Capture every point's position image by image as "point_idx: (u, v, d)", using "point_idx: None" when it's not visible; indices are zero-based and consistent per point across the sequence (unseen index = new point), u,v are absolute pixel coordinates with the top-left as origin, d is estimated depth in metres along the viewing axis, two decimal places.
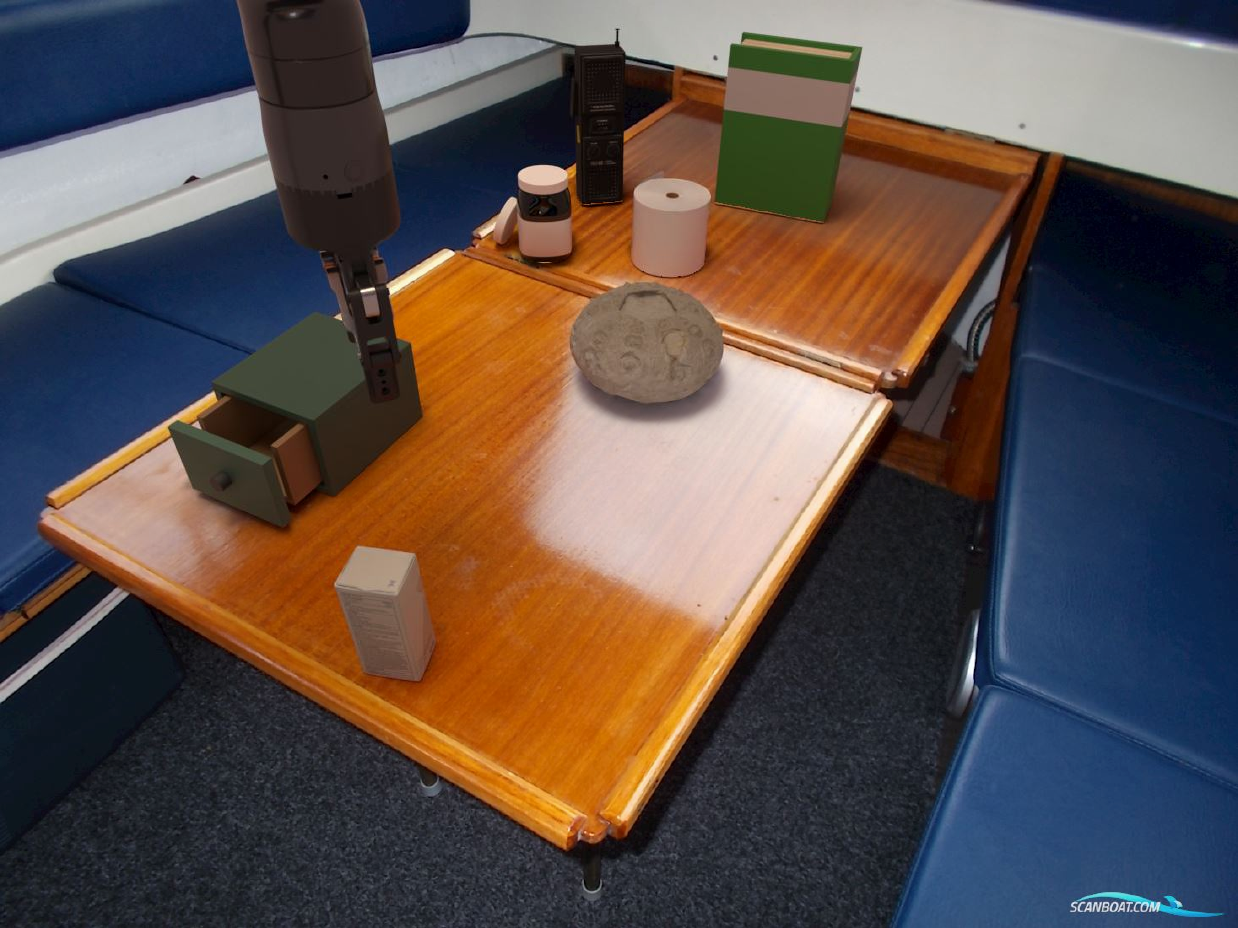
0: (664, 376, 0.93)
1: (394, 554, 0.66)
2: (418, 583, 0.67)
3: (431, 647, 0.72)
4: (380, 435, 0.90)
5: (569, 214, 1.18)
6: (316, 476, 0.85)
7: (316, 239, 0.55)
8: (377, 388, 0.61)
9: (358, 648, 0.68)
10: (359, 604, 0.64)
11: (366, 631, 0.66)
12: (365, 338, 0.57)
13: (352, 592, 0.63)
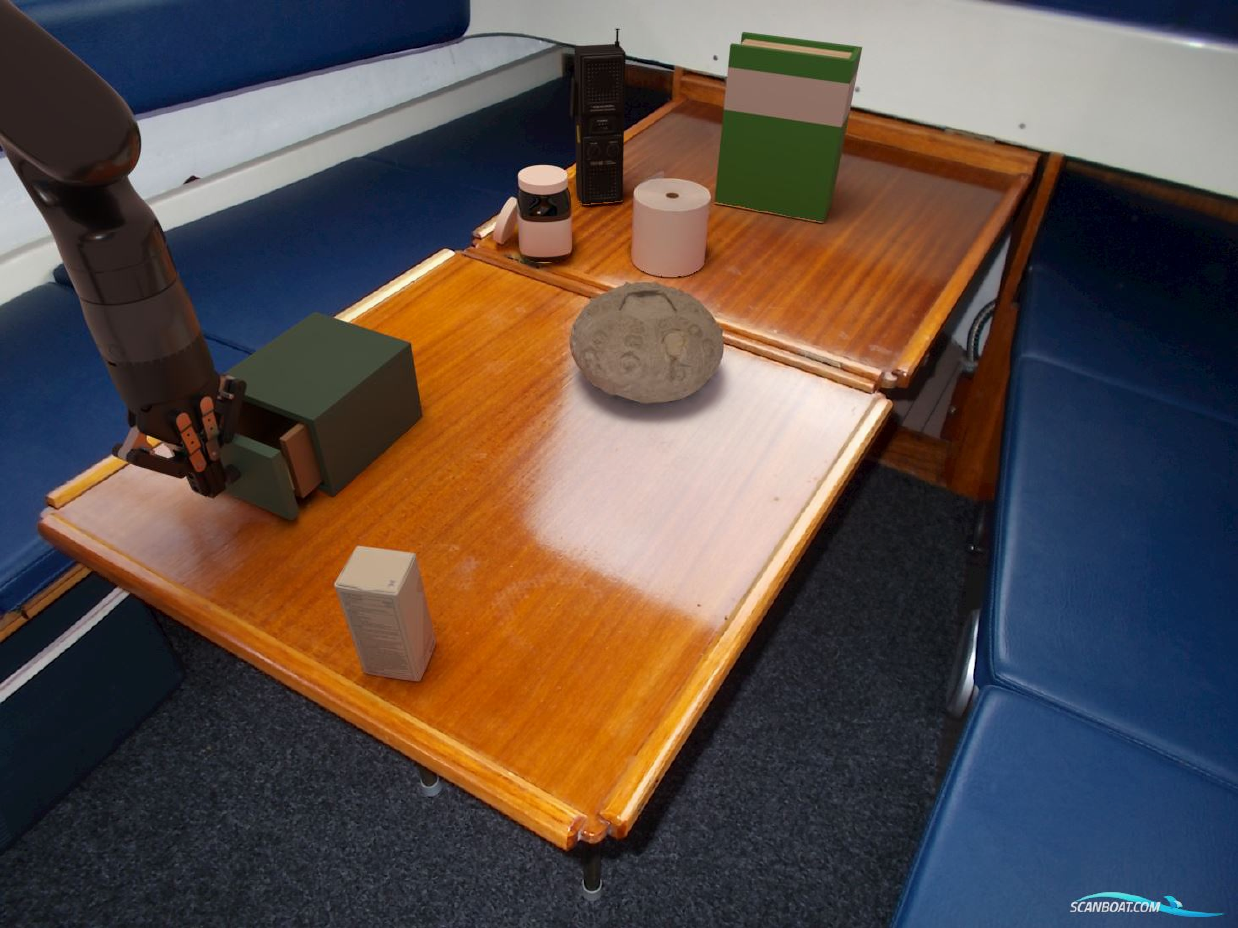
0: (664, 376, 0.93)
1: (394, 554, 0.66)
2: (418, 583, 0.67)
3: (431, 647, 0.72)
4: (380, 435, 0.90)
5: (569, 214, 1.18)
6: None
7: None
8: (190, 484, 0.77)
9: (358, 648, 0.68)
10: (359, 604, 0.64)
11: (366, 631, 0.66)
12: None
13: (352, 592, 0.63)
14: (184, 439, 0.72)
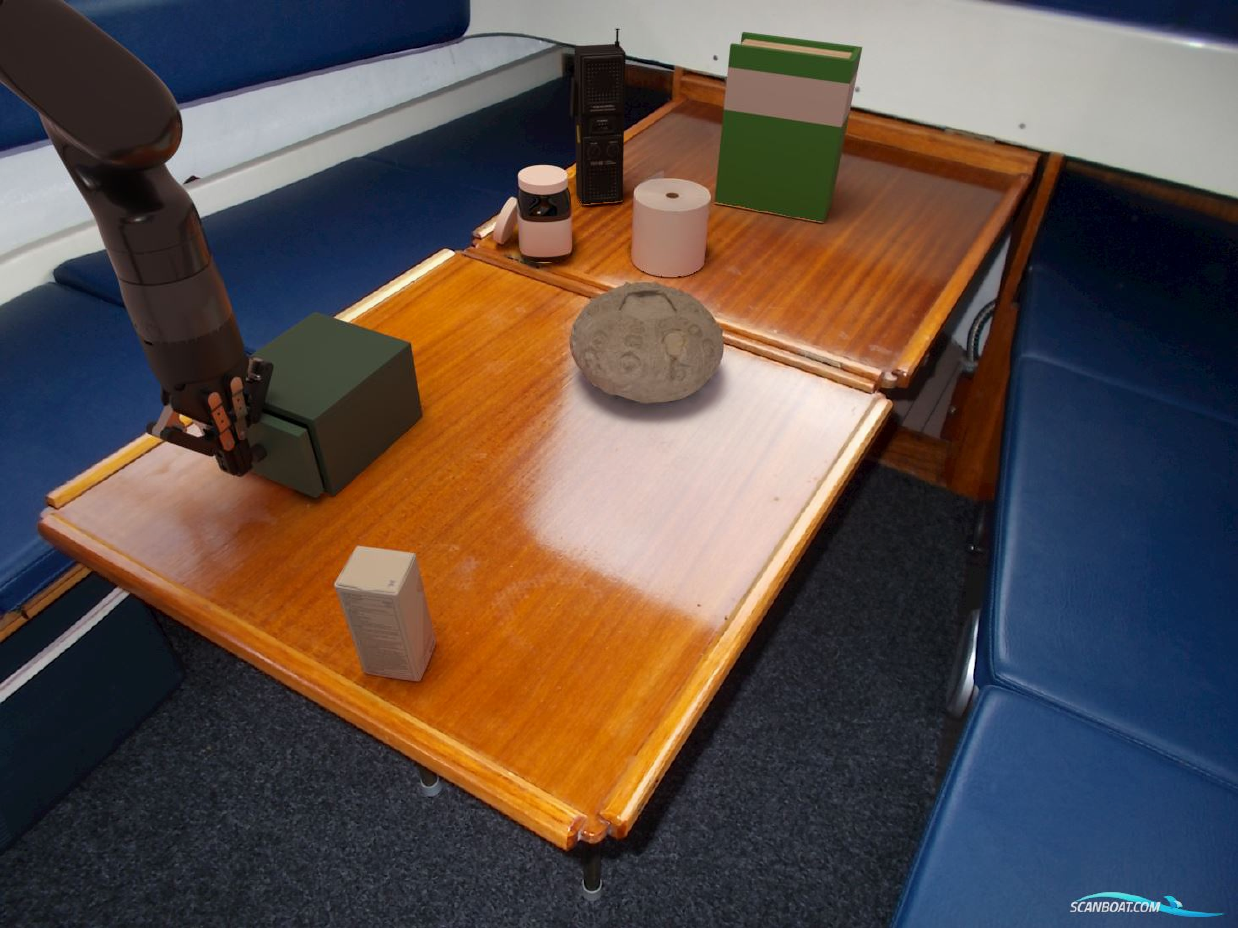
0: (664, 376, 0.93)
1: (394, 554, 0.66)
2: (418, 583, 0.67)
3: (431, 647, 0.72)
4: (380, 435, 0.90)
5: (569, 214, 1.18)
6: None
7: None
8: (219, 463, 0.80)
9: (358, 648, 0.68)
10: (359, 604, 0.64)
11: (366, 631, 0.66)
12: None
13: (352, 592, 0.63)
14: (215, 418, 0.75)
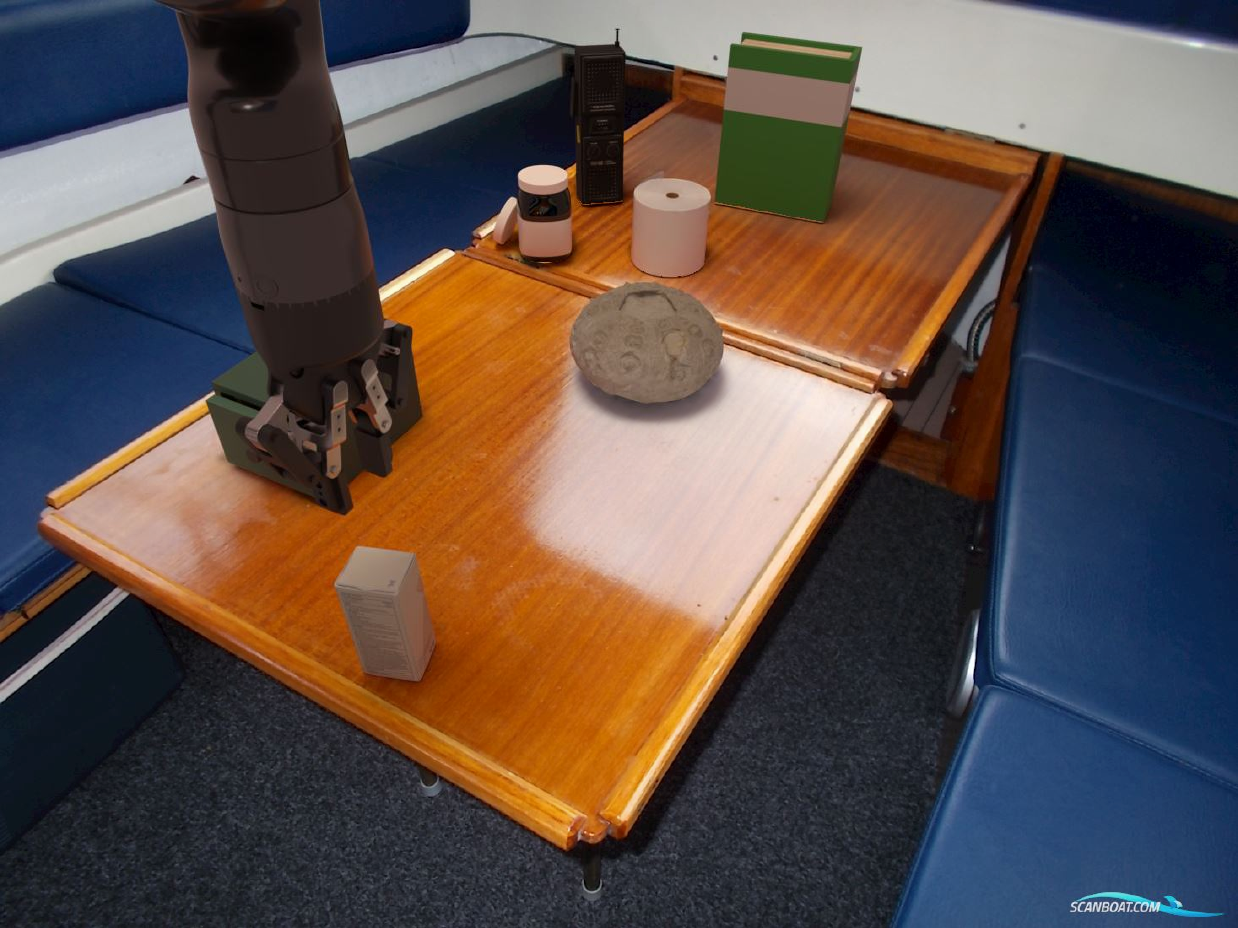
0: (664, 376, 0.93)
1: (394, 554, 0.66)
2: (418, 583, 0.67)
3: (431, 647, 0.72)
4: None
5: (569, 214, 1.18)
6: None
7: (250, 334, 0.49)
8: (316, 496, 0.56)
9: (358, 648, 0.68)
10: (359, 604, 0.64)
11: (366, 631, 0.66)
12: (265, 460, 0.51)
13: (352, 592, 0.63)
14: (332, 421, 0.52)
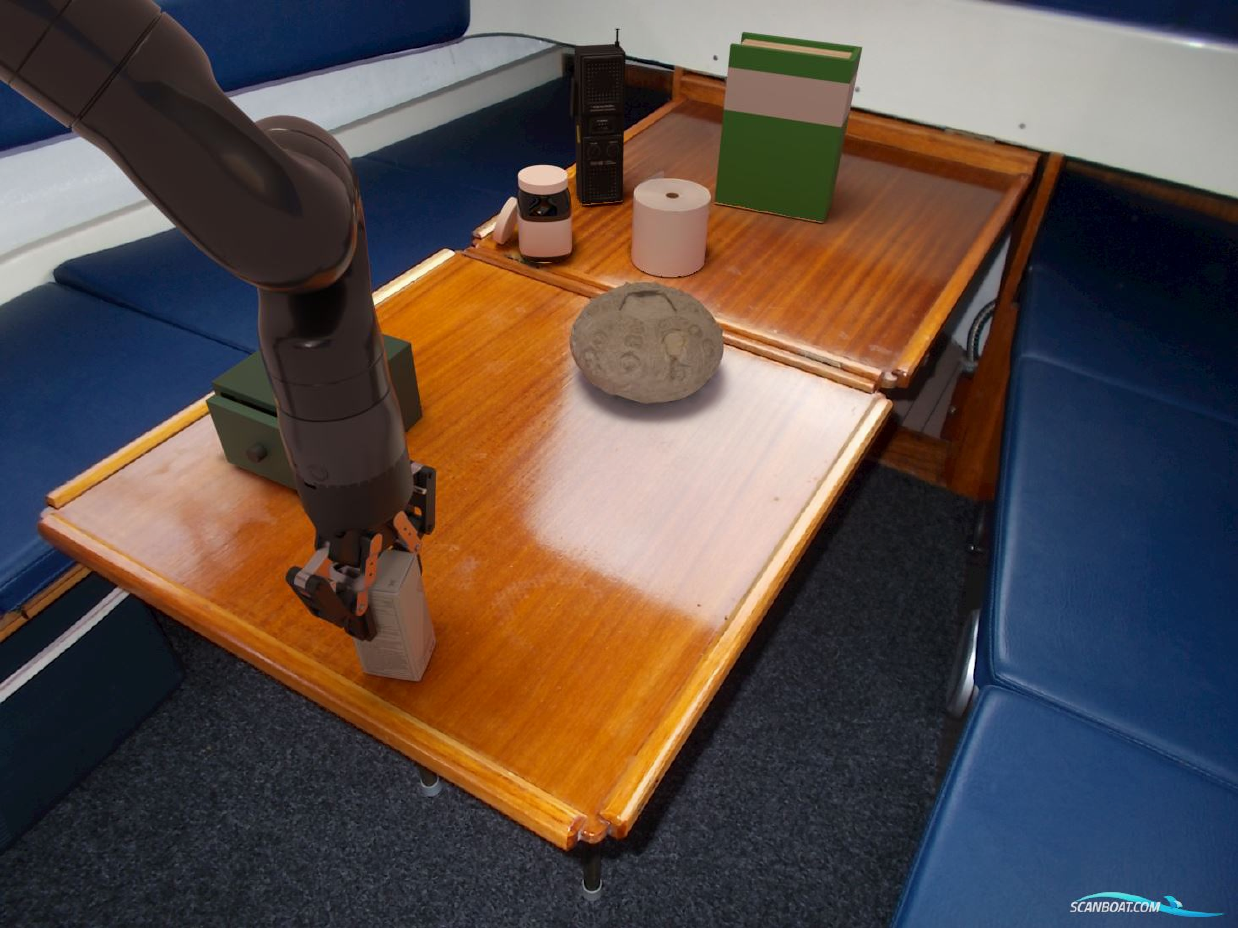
0: (664, 376, 0.93)
1: (394, 554, 0.66)
2: (419, 583, 0.67)
3: (431, 647, 0.72)
4: None
5: (569, 214, 1.18)
6: None
7: None
8: (345, 627, 0.64)
9: (358, 648, 0.68)
10: None
11: None
12: (306, 603, 0.59)
13: (352, 591, 0.63)
14: (366, 567, 0.60)
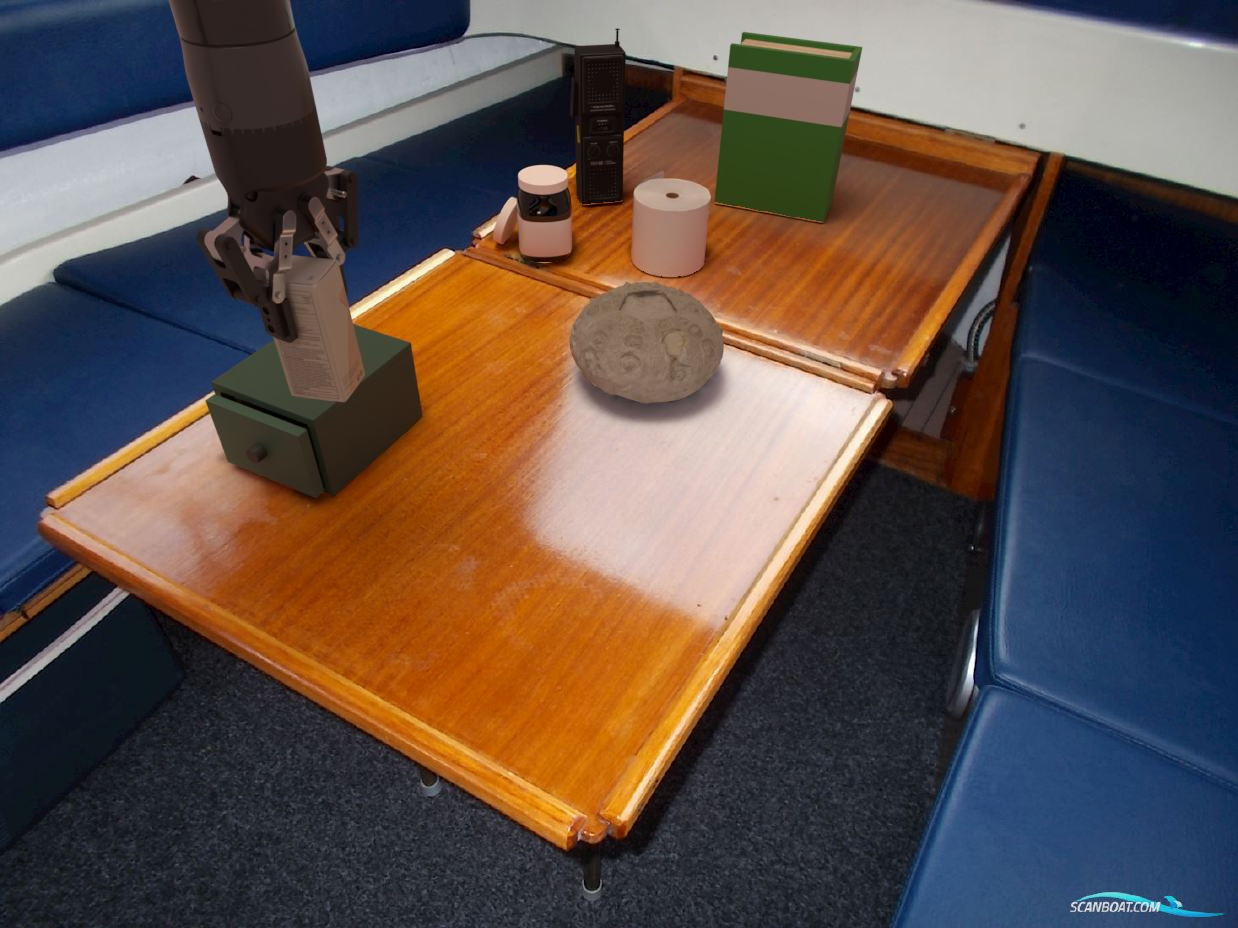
0: (664, 376, 0.93)
1: (316, 259, 0.67)
2: (342, 294, 0.68)
3: (359, 375, 0.73)
4: (380, 435, 0.90)
5: (569, 214, 1.18)
6: None
7: (213, 165, 0.59)
8: (265, 323, 0.65)
9: (283, 362, 0.70)
10: None
11: None
12: (220, 275, 0.60)
13: None
14: (280, 245, 0.61)
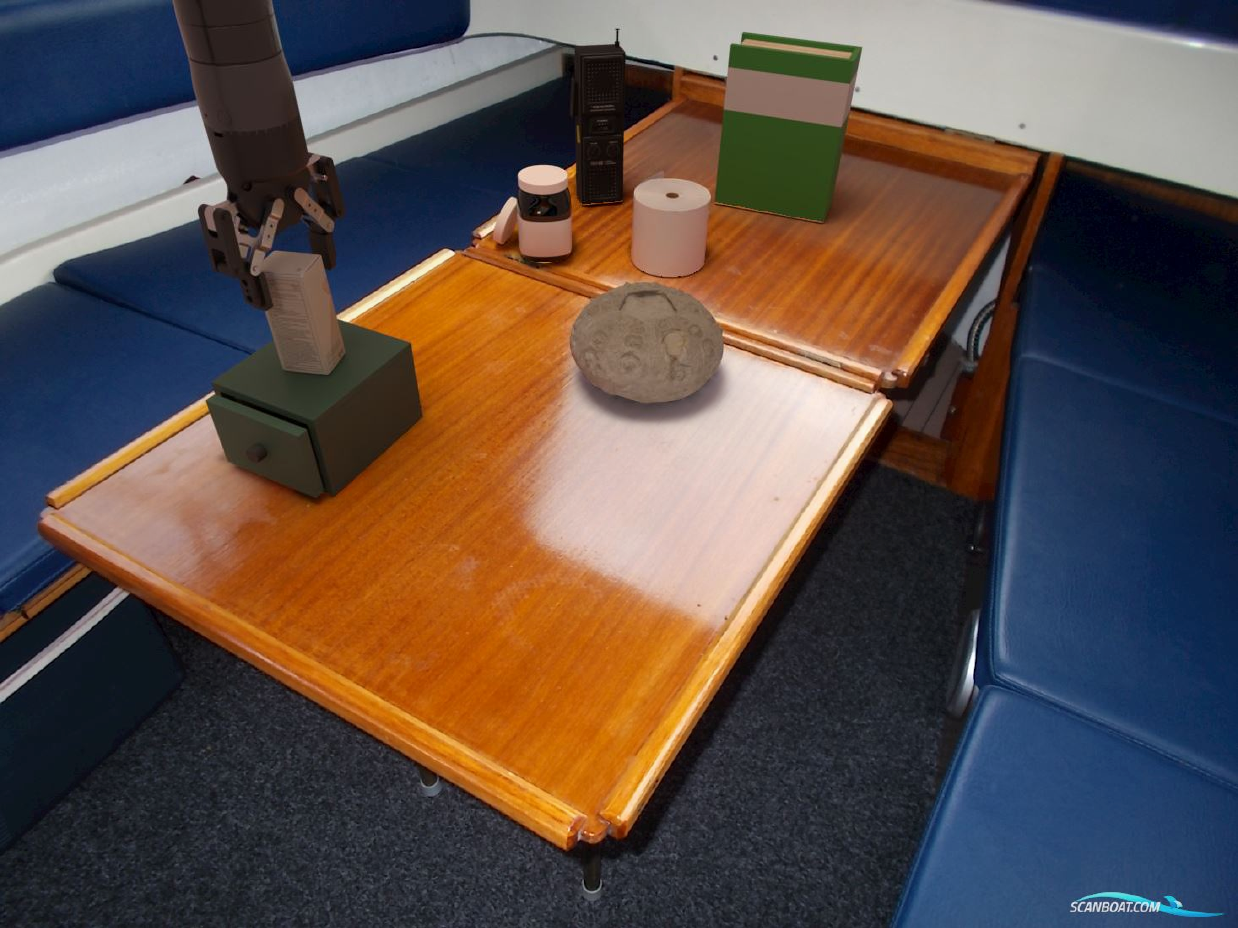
0: (664, 376, 0.93)
1: (303, 254, 0.80)
2: (325, 283, 0.82)
3: (340, 353, 0.86)
4: (380, 435, 0.90)
5: (569, 214, 1.18)
6: None
7: None
8: (244, 293, 0.76)
9: (276, 341, 0.83)
10: (272, 289, 0.79)
11: (281, 320, 0.81)
12: (209, 245, 0.72)
13: (266, 276, 0.78)
14: (266, 225, 0.73)
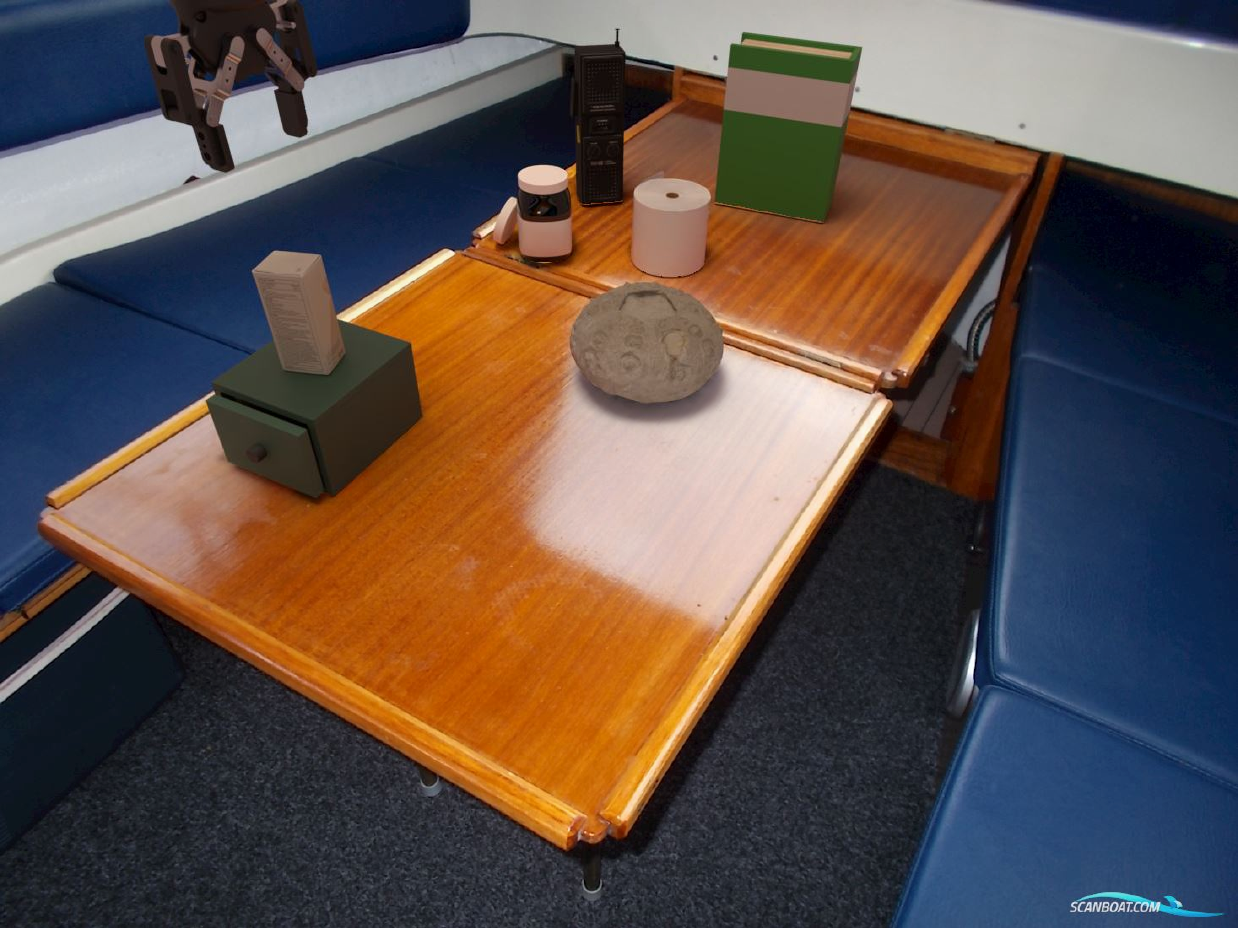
0: (664, 376, 0.93)
1: (303, 254, 0.80)
2: (325, 283, 0.82)
3: (340, 353, 0.86)
4: (380, 435, 0.90)
5: (569, 214, 1.18)
6: None
7: None
8: (201, 150, 0.68)
9: (276, 341, 0.83)
10: (272, 289, 0.79)
11: (281, 320, 0.81)
12: (158, 85, 0.63)
13: (266, 276, 0.78)
14: (224, 67, 0.65)
